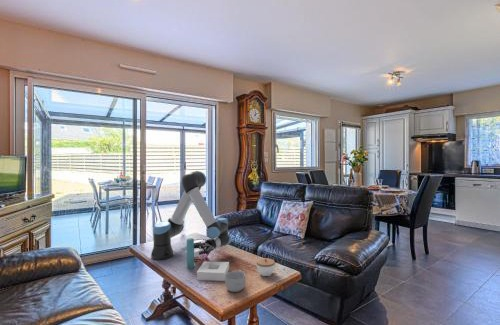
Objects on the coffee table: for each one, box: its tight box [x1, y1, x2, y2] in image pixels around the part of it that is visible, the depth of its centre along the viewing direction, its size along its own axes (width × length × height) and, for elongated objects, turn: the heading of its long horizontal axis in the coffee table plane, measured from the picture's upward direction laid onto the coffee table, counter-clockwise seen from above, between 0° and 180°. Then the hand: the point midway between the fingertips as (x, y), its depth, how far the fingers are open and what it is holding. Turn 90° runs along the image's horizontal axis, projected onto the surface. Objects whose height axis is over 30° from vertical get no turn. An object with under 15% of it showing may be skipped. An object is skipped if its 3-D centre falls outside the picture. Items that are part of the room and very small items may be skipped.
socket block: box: [196, 260, 230, 282], centre depth 162 cm, size 16×16×4 cm
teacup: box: [224, 269, 246, 293], centre depth 145 cm, size 14×11×8 cm
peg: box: [186, 237, 195, 270], centre depth 172 cm, size 4×4×18 cm
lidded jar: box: [256, 257, 276, 277], centre depth 161 cm, size 11×11×9 cm
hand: (187, 252), depth 170 cm, fingers open, 13 cm apart
